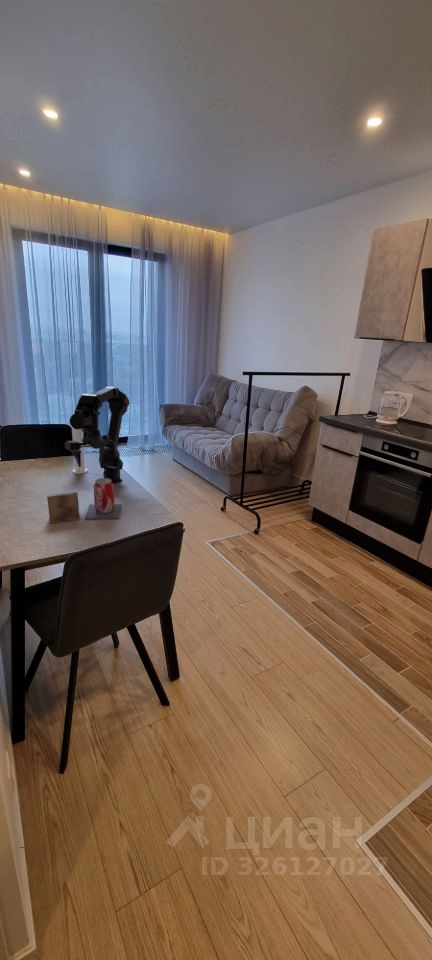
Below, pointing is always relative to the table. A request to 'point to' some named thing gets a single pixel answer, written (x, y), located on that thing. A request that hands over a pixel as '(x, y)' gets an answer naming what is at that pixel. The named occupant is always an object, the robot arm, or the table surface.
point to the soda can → (104, 495)
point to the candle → (78, 437)
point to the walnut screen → (63, 507)
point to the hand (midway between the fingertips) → (90, 465)
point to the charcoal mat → (95, 515)
